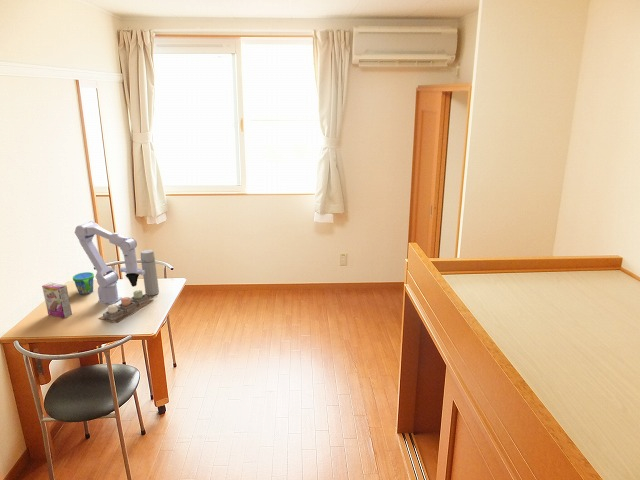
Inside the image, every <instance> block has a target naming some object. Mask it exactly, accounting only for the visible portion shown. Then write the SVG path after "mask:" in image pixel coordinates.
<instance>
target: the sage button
mask: <svg viewBox="0 0 640 480" xmlns="http://www.w3.org/2000/svg"><path fill="white" fill-rule="evenodd" d="M143 295H144V294H143V290H134V291H133V296H134V299H136V300H140V299H142V298H143Z"/></svg>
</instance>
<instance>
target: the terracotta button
mask: <svg viewBox="0 0 640 480" xmlns="http://www.w3.org/2000/svg"><path fill="white" fill-rule="evenodd" d="M130 298H131V297H129V296H128V297H127V296H126V297H122V299H120V301H121V303H120V304H122V306H123V307H128V306H130V305H131V301H130Z"/></svg>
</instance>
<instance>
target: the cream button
mask: <svg viewBox="0 0 640 480" xmlns="http://www.w3.org/2000/svg"><path fill="white" fill-rule="evenodd" d="M117 305H118V304H116V303H113V304H109V305H108V306H107V311H108V313H109V314H111V315H114V314H116V313H118V307H117Z"/></svg>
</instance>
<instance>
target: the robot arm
mask: <svg viewBox="0 0 640 480" xmlns="http://www.w3.org/2000/svg"><path fill="white" fill-rule="evenodd" d="M74 234H75V236H76V238H77V239H78V242H79V244H80V245H81V247H82V249H83V251H84V252H85V254H86V255H87V257H88V259H89V260H90V262H91V264H92V266H93V268H94V269H95V270H96V273H95V274H96V275H94V277H95V278H96V281H97V282H96V283H97V285H98V287H97V294H98V300H97V301H98V303H104V304H109V305H113V304H116V302H118V301H121V299H122V298H123V297H121V296H119V293H118V288H117V287H118V286H117V284H118V281H119V274H118V273H117V272H116V271H115V270H114V269H113V267H110V266H108V265H107V264H106V262H105V259H104V258H103V257H102V255H101V254H100V252H99V251H98V249H97V247H96V245H95V244H94V242H93V238H94V237H95V236H96V235H97V236H99V237H101V238H104V239H107V240H108V241H109V243H110V244H112V245H114V246H117V247H118V248H120V251H122V255H123V259H124V266H125V267H120V268H119V272H120V273H125V277H126V278H127V280H128V281H129V283H130V285H131V287H136V286H137V285H138V279H139V277H140V276H143V275H144V274H145V271H144V270H142V268H139V267H138V260H137V254H136V248H137V246H138V242H137V241H136V239H134V238H133V237H126V236H123V235H121V234H120V233H119V232H113V233H112V232H110V231H109V230H107V229H105V228H103V227H101V226H100V225H99V224H98V222H97V223H96V222H95V221H92V220H91V221H88V222H86V223H83V224H81V225H80V224H79V225H77V226H76V227H75V229H74Z"/></svg>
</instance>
